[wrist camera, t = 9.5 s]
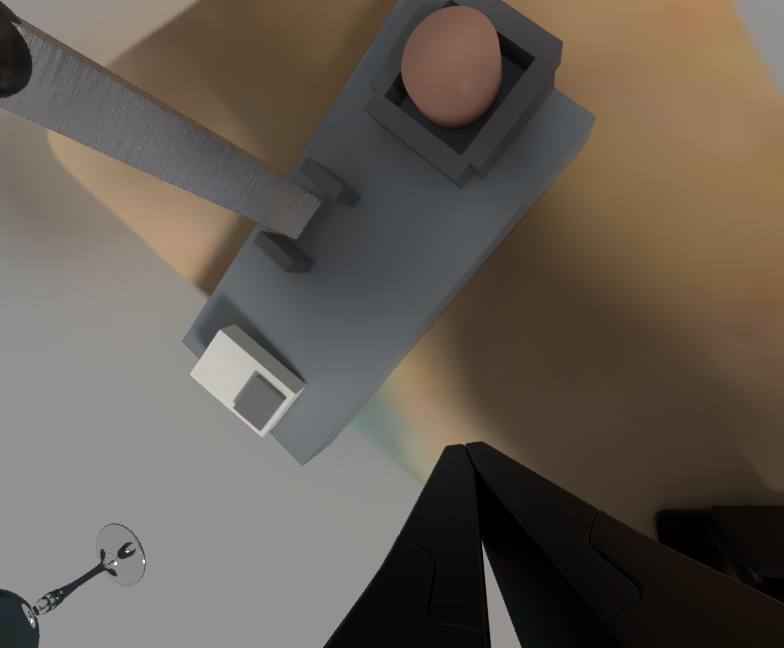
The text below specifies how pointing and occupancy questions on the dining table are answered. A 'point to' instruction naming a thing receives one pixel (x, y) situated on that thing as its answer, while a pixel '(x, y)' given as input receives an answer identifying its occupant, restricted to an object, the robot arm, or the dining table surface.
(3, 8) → the toggle lever
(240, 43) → the dining table surface
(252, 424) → the rocker switch
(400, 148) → the panel
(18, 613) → the wineglass
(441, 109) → the push button
